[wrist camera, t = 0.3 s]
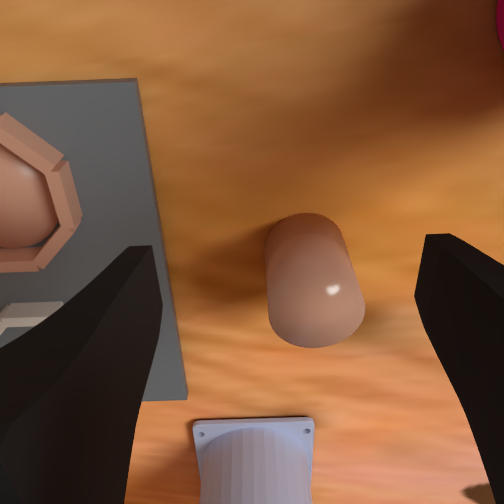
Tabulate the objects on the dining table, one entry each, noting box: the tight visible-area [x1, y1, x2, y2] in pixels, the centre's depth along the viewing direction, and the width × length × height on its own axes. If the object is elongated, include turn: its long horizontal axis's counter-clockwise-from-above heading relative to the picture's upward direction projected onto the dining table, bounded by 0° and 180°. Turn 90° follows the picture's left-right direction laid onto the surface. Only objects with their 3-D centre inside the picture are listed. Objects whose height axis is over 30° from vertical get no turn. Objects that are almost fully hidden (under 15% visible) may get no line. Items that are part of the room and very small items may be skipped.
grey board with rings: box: [0, 78, 188, 401], centre depth 23 cm, size 19×14×2 cm
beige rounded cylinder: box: [264, 213, 365, 348], centre depth 21 cm, size 4×4×5 cm
